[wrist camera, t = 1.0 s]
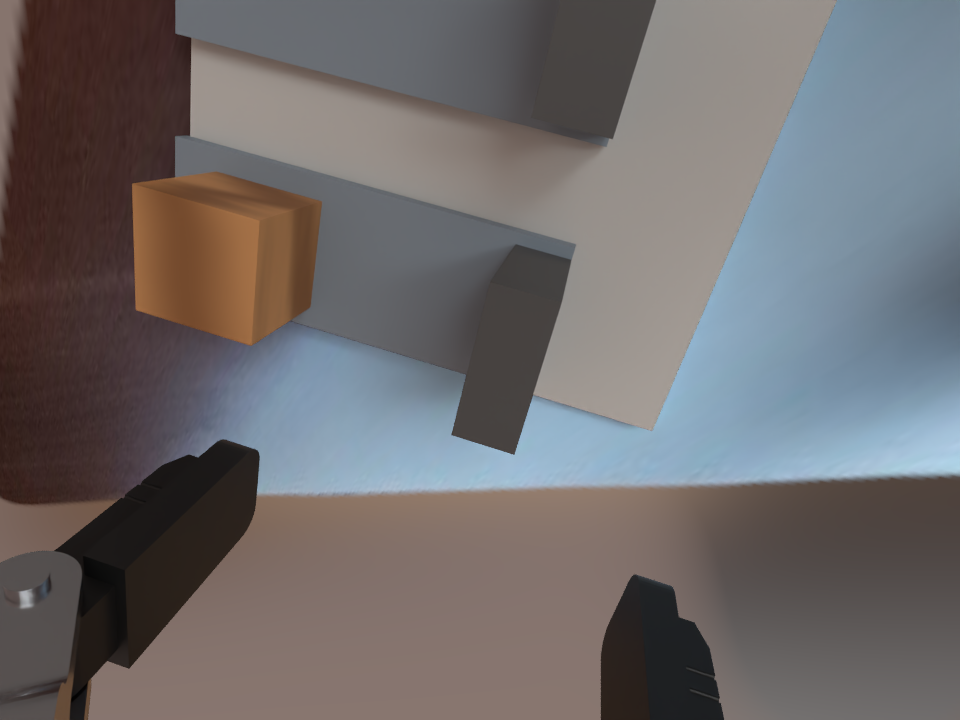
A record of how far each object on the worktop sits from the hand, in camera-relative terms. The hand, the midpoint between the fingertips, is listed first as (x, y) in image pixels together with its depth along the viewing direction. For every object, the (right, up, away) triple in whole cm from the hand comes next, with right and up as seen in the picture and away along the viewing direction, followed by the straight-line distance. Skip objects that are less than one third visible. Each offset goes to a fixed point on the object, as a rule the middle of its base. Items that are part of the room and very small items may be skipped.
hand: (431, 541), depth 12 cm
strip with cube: (-4, +8, +15) cm, 17 cm away
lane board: (0, +13, +13) cm, 18 cm away
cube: (-9, +9, +14) cm, 19 cm away
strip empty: (-2, +18, +10) cm, 21 cm away
